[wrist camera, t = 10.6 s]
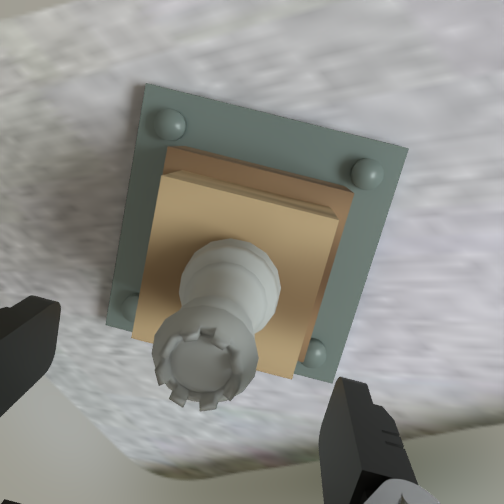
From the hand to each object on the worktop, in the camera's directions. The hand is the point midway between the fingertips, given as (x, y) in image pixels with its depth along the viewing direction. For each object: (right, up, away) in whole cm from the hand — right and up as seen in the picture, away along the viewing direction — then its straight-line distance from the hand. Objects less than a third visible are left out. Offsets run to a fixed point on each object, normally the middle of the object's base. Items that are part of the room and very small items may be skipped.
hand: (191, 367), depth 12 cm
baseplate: (+1, +4, +17) cm, 17 cm away
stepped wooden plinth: (+1, +4, +17) cm, 17 cm away
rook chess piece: (+1, +2, +8) cm, 8 cm away
